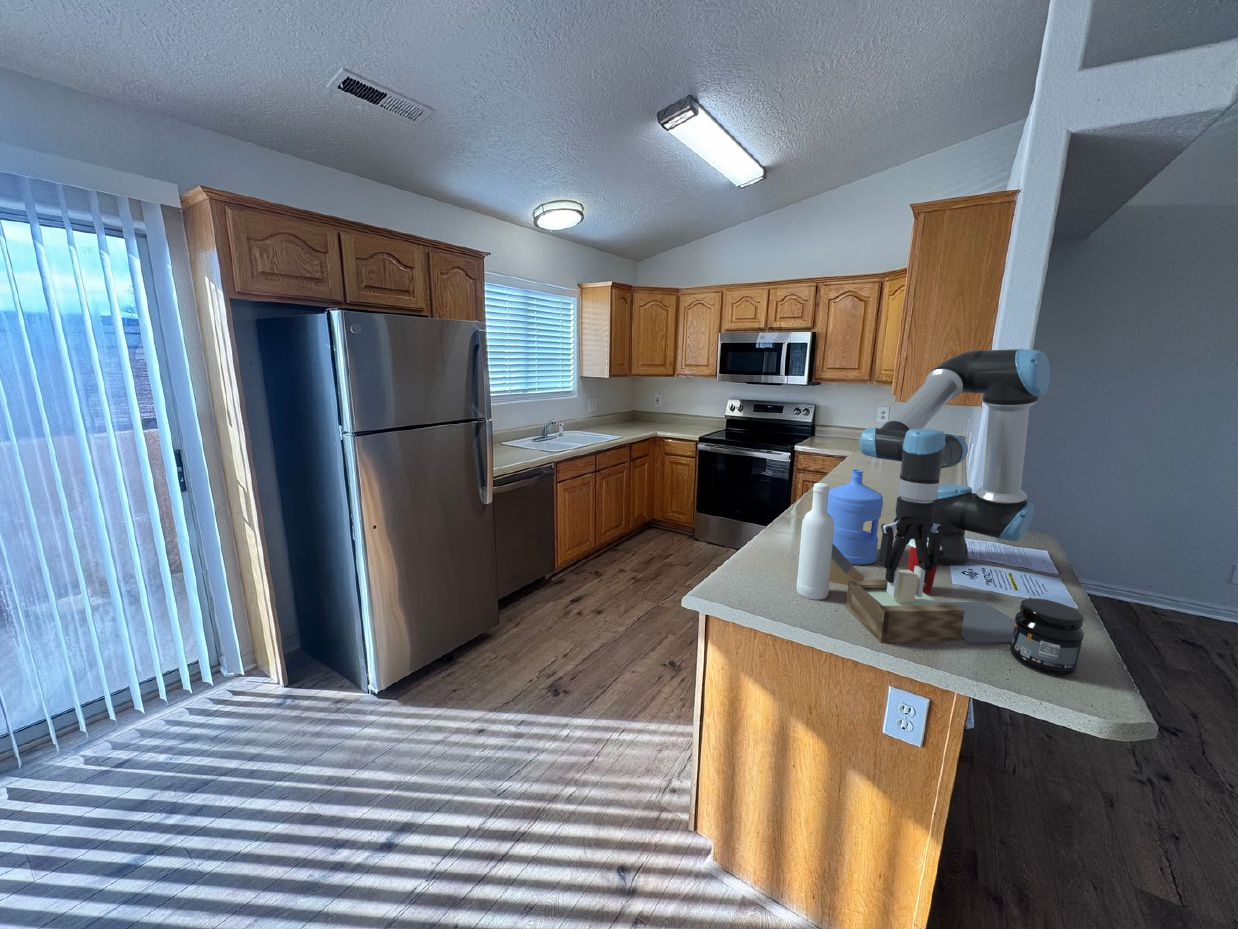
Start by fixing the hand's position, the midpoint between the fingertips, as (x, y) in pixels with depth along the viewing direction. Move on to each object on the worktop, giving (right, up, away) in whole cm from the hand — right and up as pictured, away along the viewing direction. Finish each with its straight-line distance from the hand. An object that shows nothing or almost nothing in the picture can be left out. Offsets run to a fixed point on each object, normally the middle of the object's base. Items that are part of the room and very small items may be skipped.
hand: (903, 594), depth 113 cm
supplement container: (+20, -11, -13) cm, 27 cm away
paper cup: (+15, -4, +19) cm, 24 cm away
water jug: (+7, +1, +42) cm, 43 cm away
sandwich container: (-5, -2, +27) cm, 27 cm away
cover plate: (0, -2, 0) cm, 2 cm away
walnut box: (0, -7, +1) cm, 7 cm away
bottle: (-15, -4, +17) cm, 23 cm away
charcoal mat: (+19, -7, +2) cm, 20 cm away
